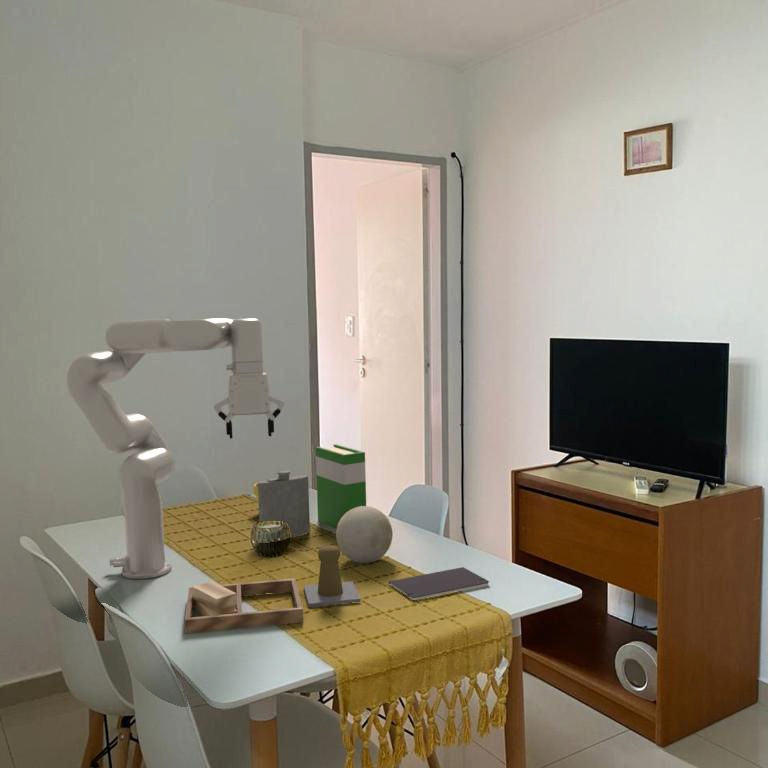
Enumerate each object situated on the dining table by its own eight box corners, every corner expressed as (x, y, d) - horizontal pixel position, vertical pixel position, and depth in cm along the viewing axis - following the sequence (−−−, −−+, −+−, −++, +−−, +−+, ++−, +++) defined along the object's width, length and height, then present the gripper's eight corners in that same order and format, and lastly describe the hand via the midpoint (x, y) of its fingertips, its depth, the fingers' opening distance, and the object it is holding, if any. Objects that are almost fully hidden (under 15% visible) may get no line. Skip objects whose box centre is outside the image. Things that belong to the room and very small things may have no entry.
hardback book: (318, 521, 258) (315, 446, 255) (338, 517, 262) (336, 444, 259) (345, 533, 243) (343, 455, 240) (366, 529, 247) (364, 452, 244)
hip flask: (307, 530, 247) (305, 466, 245) (313, 534, 243) (310, 468, 241) (258, 539, 239) (255, 473, 237) (263, 543, 235) (260, 475, 233)
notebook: (463, 572, 208) (388, 587, 198) (463, 566, 207) (388, 581, 198) (490, 588, 196) (412, 604, 187) (490, 581, 196) (412, 597, 187)
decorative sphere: (328, 558, 220) (326, 504, 218) (377, 550, 226) (376, 497, 225) (351, 574, 206) (349, 517, 205) (403, 564, 213) (401, 509, 212)
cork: (320, 597, 188) (318, 551, 187) (315, 589, 194) (313, 544, 192) (345, 594, 190) (344, 549, 188) (339, 586, 195) (338, 541, 194)
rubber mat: (308, 607, 185) (308, 603, 185) (303, 589, 196) (303, 585, 196) (360, 602, 187) (360, 598, 187) (352, 585, 199) (352, 581, 198)
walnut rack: (185, 633, 172) (184, 619, 171) (189, 599, 191) (189, 587, 191) (303, 622, 176) (302, 608, 176) (295, 590, 196) (295, 578, 196)
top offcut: (217, 612, 177) (216, 599, 176) (192, 599, 185) (192, 586, 185) (237, 606, 180) (236, 593, 180) (212, 593, 188) (211, 581, 188)
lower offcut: (210, 629, 175) (210, 616, 175) (193, 608, 187) (192, 596, 187) (237, 623, 178) (237, 610, 177) (218, 603, 190) (218, 591, 190)
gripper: (211, 371, 195) (215, 441, 197) (283, 368, 198) (286, 437, 200) (212, 368, 203) (215, 436, 204) (281, 366, 206) (284, 432, 208)
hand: (250, 436), depth 202 cm, fingers open, 9 cm apart
